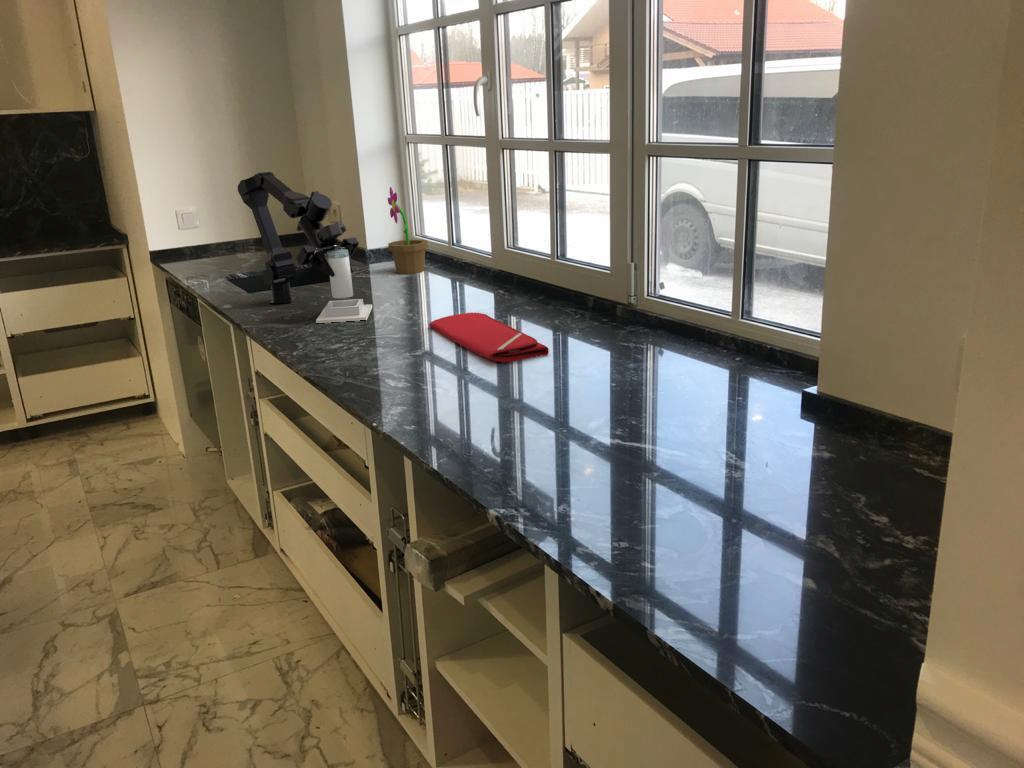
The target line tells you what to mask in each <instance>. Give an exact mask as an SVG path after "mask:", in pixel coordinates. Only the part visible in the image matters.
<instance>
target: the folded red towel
mask: <svg viewBox="0 0 1024 768" xmlns="http://www.w3.org/2000/svg"><path fill="white" fill-rule="evenodd" d="M428 325H429V327H430V328H431V329H432V330H434V331H436V332H437V333H439V334H440V335H442V336H444V337H446V338H447V339H449V340H451V341H452V342H453V343H456V344H458V345H460V346H462V347H464V348H465V349H467V350H469V351H471V352H473V353H475V354H477V355H479V356H480V357H483V358H485V359H487V360H488V359H489V360H491V361H494V362H497V363H512V362H517V361H522V360H527V359H532V358H531V357H533V358H537V357H536V356H538V357H541V356H540V355H543V356H548V355H549V351H550V349H549V347H548V346H546V345H544V344H543V343H540V342H538V340H537V339H536V338H534V337H533V336H530V335H528V334H526V333H524V332H521V331H519V330H518V329H516V328H513V327H512V326H509V325H507V324H505V323H503V322H501V321H499V320H498V319H495V318H493V317H491V316H489V315H487V314H485V313H481V312H464V313H458V314H452V315H448V316H444V317H443V316H442V317H440V318H437V319H434V320H433V321H431V322H429V324H428ZM547 354H548V355H547ZM526 358H527V359H526Z"/></svg>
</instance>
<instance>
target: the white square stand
mask: <svg viewBox="0 0 1024 768" xmlns="http://www.w3.org/2000/svg"><path fill="white" fill-rule="evenodd" d="M372 309H373V304H372V303H371V304H370V303H369V304H368V303H367V304H364V299H363V298H357V299H356V298H353V299H342V300H339V299H338V300H329V301H328V302H327V304H326V305H325V307H324V308H323V309H322V311H321V313H320V314H319V315H318V317H317V318H316V320H315V324H316V323H325V324H332V323H331V322H340V323H347V322H346V321H355V322H361V321H360V320H366V321H367V320H368V318H369V316H370V313H371V311H372Z"/></svg>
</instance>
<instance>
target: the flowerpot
mask: <svg viewBox="0 0 1024 768" xmlns="http://www.w3.org/2000/svg"><path fill="white" fill-rule="evenodd" d="M389 196H390V197H387V203H388V205H389V206H391V208H389V209H390V211H389V216H390V218H391V219H392V218H393V219H394V222H395V224H398V214H399V213H400V215H401V216H402V220H403V223H404V227H405V228H404V230H403V233H404V234H405V239H402V240H396V241H392V242H388V243H387V246H388V251H389V252H391V253H392V258H393V263H394V266H395V271H396V273H397V274H400V275H410V274H411V275H413V274H421V273H423V272H425V267H426V263H425V262H426V249H428V248H429V242H428V240H426V239H410V235H409V229H408V228H409V226H408V224H407V223H408V222H407V219H406V216H405V213H404V212H403V210H402V208H401V207H400V206H399V204H398V203H397V202H398V194H397V192H394V190H393V188H392V186H389Z"/></svg>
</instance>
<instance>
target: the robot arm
mask: <svg viewBox="0 0 1024 768" xmlns="http://www.w3.org/2000/svg"><path fill="white" fill-rule="evenodd" d="M237 192H238V194H239V196H240V198H241V200H242V202H243V204H245V205H246V206H247V207H248V208H249V209H250V210H251V211H252V215H253V218H254V220H255V223H256V226H257V229H258V232H259V235H260V237H261V239H262V243H263V245H264V249H265V252H266V259H265V263H264V265H265V272H264V273H263V276H262V282H263V284H264V285H267V286H270V289H271V296H272V300H271V301H270V303H283V304H291V303H292V302H293V301H294V300H295V299H294V298H295V297H294V296H293V297H292V293H291V291H292V290H291V285H290V282H295V281H296V274H297V266H296V263H295V260H294V259H293V258H294V257H293V254H292V253H291V252H290V251H286V250H285V249H284V248H283V246H282V243H281V240H280V237H279V234H278V232H277V230H276V227H275V226H276V225H275V224H274V220H273V217H272V214H271V211H270V209H269V206H268V201H269V197H270V195H271V196H272V197H273V198H274V199H276V200H277V201H278V202H279V203H280V204H282V209H283V211H284V212H285V214H286V215H287V216H288V217H289V218H290V219H297V218H300V219H299V220H298V221H297V226H296V230H297V232H301V231H303V233H304V234H305V236H306V238H307V239H308V240H307V242H306V243H307V244H308V245H305V246H304V245H303V246H301V248H300V250H299V252H298V254H297V256H296V262H297V264H298V265H299V267H304V266H308V267H312V268H315V269H317V270H320V271H321V272H323V273H324V274H327V275H328V276H329V277H330V276H332V277H334V275H335V274H334V272H333V270H332V268H331V267H330V265H329V264H328V260H327V259H326V257H325V256H327V251H330V250H336V249H347V250H348V253H349V262H350V271H351V274H352V273H353V272H354V269H353V264H352V260H351V259H352V258H351V256H353V255H354V254H355V252H356V250H357V249H358V247H359V245H360V242H359V241H358V239H357V238H356V237H354V236H352V237H347V238H343V239H342V241H341V243H340V244H337V245H336V243H338V241H339V239H338V237H340V236H343V234H344V233H345V232H346V231H347V228H346V226H345V224H344V223H343V221H336V223H333V224H327V225H323V223H322V222H324V221H325V219H326V218H327V215H328V213H329V211H330V209H331V207H332V200H331V198H329V197H328V196H326V195H325V194H323V193H321V192H319V190H315V191H311V193H310V196H308V195H307V194H304V193H301V192H296V191H294V190H292V189H291V188H290V187H288V185H286V184H285V183H283V182H282V181H281V180H280V179H278V178H277V177H276V176H275V174H274V173H273V172H272V171H263V172H262V171H261V172H257V173H256V174H254V175H252V176H250V177H248V178H246V179H241V180H240V181H239V183H238V184H237ZM293 299H294V300H293ZM290 302H291V303H290ZM270 303H269V304H270Z"/></svg>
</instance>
